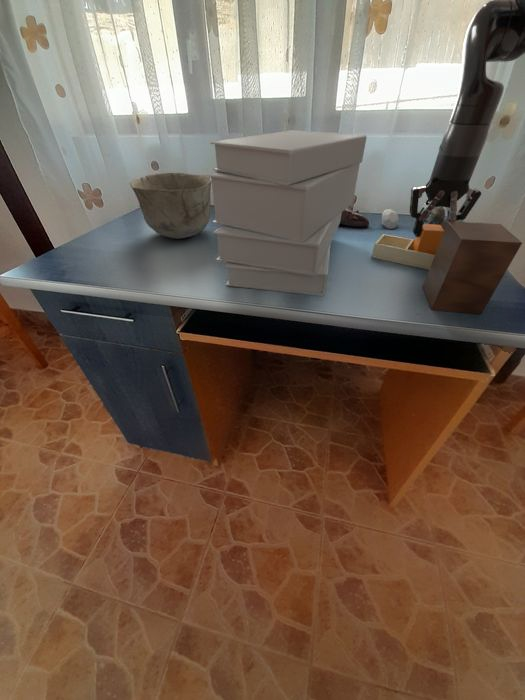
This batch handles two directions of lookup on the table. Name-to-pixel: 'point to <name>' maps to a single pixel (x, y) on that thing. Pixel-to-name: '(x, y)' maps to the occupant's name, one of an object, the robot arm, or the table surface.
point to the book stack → (282, 206)
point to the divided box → (401, 252)
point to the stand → (469, 266)
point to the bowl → (174, 202)
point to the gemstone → (390, 218)
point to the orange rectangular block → (428, 239)
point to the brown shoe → (353, 219)
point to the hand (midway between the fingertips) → (429, 236)
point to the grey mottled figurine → (436, 215)
